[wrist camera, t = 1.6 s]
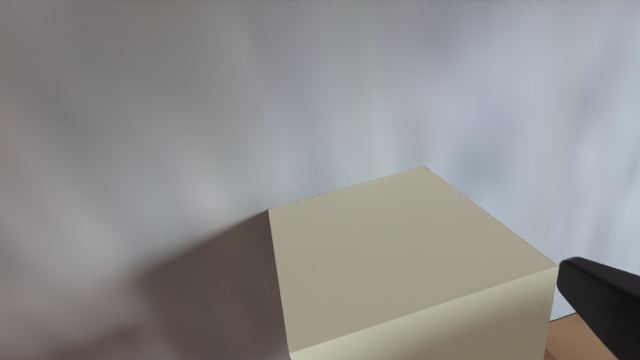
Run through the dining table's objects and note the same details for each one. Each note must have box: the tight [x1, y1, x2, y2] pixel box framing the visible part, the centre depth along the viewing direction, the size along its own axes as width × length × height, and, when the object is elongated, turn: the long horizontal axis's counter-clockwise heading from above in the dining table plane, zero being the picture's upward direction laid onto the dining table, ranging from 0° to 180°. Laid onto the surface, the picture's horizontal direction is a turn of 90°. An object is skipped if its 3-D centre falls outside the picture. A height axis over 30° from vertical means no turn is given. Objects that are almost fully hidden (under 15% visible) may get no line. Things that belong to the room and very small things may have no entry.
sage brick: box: [268, 166, 559, 360], centre depth 9 cm, size 5×5×5 cm
